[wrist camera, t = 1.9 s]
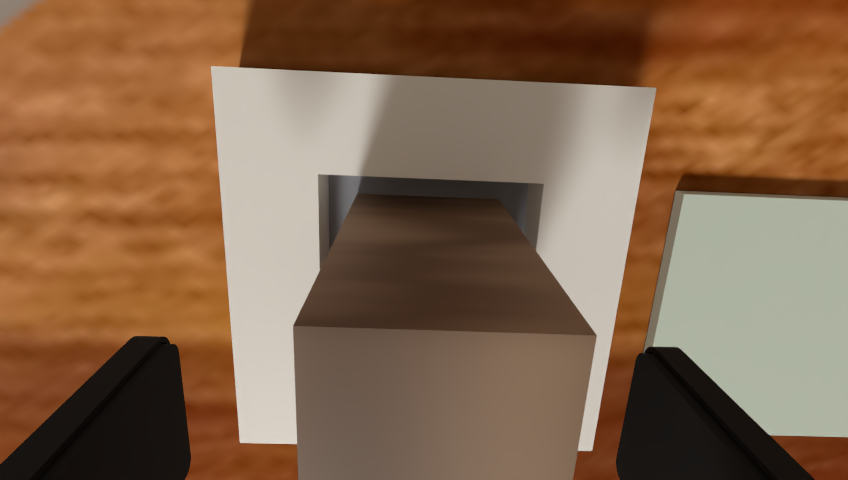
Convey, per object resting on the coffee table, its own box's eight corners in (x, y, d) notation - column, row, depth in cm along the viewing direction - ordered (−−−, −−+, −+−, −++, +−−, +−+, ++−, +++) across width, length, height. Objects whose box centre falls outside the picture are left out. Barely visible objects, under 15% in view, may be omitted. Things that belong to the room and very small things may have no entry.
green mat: (940, 201, 19) (957, 205, 18) (858, 428, 22) (870, 437, 21) (675, 190, 18) (684, 194, 18) (629, 422, 21) (635, 431, 21)
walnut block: (498, 199, 18) (597, 335, 8) (486, 326, 19) (558, 564, 10) (357, 193, 18) (292, 326, 8) (356, 322, 19) (301, 559, 10)
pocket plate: (623, 86, 17) (656, 87, 15) (572, 410, 21) (591, 450, 19) (238, 68, 17) (210, 66, 14) (259, 402, 21) (239, 443, 18)
